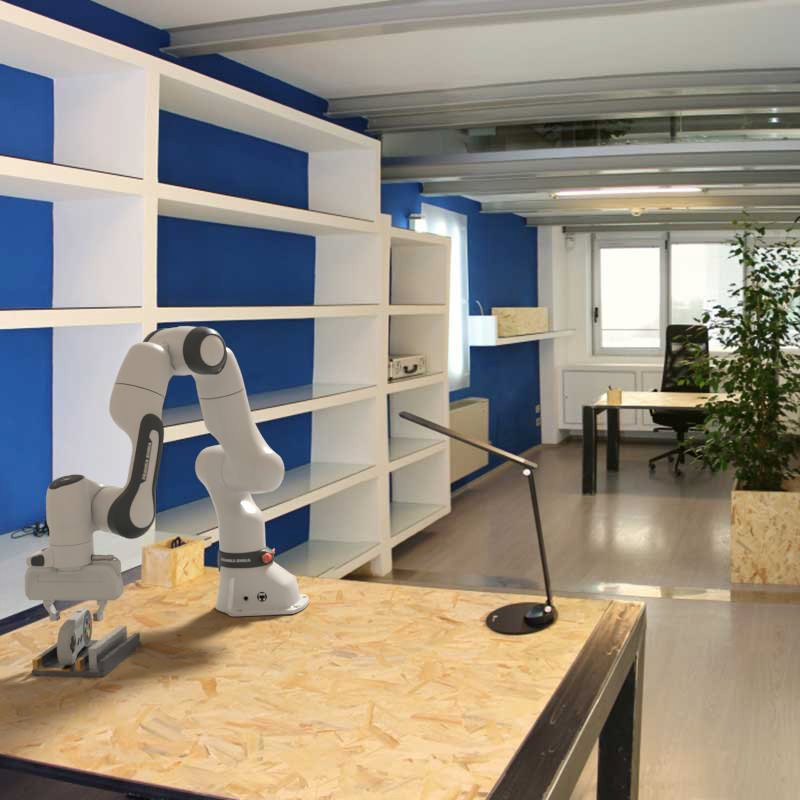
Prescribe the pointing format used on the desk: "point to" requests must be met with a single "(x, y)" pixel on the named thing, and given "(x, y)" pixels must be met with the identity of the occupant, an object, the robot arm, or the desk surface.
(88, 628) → the game controller
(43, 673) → the phone stand
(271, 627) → the desk surface
